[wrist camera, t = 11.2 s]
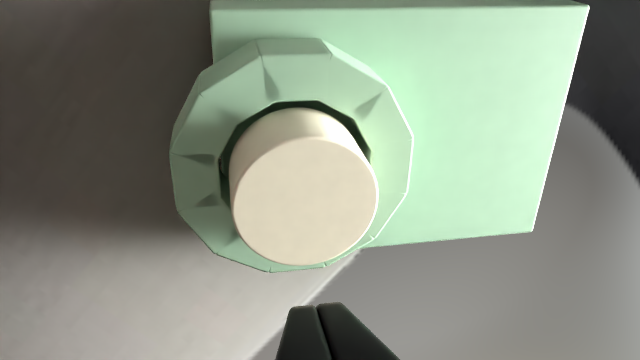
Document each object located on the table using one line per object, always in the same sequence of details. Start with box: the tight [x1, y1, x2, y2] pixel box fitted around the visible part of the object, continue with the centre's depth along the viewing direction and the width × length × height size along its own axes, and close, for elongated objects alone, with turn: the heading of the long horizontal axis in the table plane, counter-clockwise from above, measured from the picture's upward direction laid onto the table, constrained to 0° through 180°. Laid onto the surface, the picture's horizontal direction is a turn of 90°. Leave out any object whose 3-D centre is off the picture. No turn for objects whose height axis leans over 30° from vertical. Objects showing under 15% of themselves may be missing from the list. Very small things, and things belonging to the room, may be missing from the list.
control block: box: [169, 0, 589, 273], centre depth 16 cm, size 12×8×4 cm, turn 89°
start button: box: [229, 108, 378, 266], centre depth 13 cm, size 4×4×2 cm
